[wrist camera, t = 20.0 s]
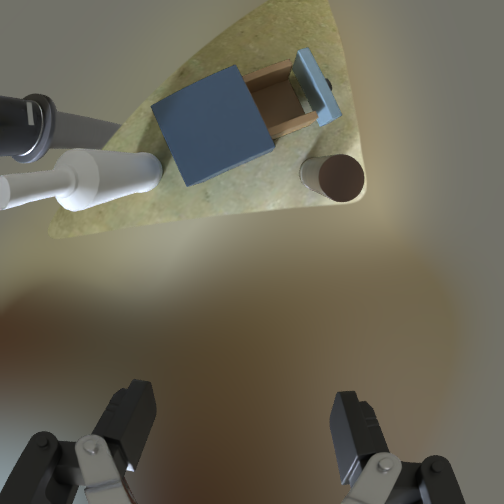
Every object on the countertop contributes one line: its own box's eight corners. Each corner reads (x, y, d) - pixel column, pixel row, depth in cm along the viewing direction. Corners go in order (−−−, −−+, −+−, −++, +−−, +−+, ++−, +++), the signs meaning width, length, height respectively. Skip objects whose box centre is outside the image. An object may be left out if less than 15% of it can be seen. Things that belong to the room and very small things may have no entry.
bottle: (172, 172, 36) (39, 191, 12) (144, 199, 37) (5, 253, 13) (147, 144, 35) (2, 131, 11) (121, 171, 36) (-29, 194, 12)
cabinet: (241, 85, 33) (235, 64, 25) (272, 151, 35) (275, 146, 27) (173, 117, 34) (150, 105, 26) (203, 182, 37) (186, 187, 29)
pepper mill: (297, 188, 36) (316, 201, 24) (299, 156, 35) (319, 151, 23) (330, 191, 36) (363, 204, 24) (331, 158, 35) (366, 156, 23)
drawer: (309, 63, 31) (318, 43, 25) (337, 120, 33) (352, 111, 27) (237, 89, 32) (232, 74, 26) (265, 148, 34) (266, 144, 28)
